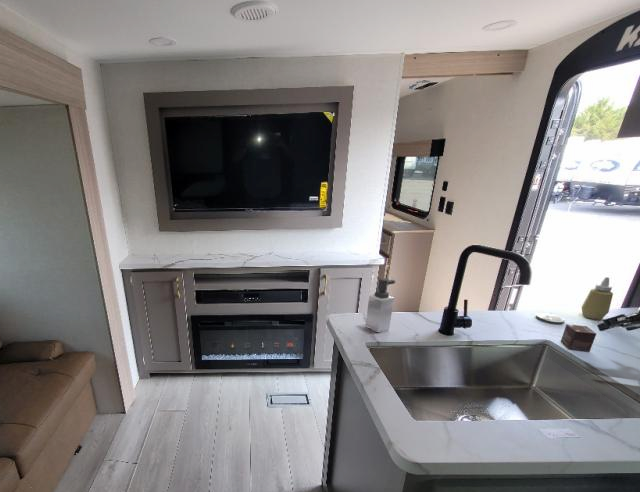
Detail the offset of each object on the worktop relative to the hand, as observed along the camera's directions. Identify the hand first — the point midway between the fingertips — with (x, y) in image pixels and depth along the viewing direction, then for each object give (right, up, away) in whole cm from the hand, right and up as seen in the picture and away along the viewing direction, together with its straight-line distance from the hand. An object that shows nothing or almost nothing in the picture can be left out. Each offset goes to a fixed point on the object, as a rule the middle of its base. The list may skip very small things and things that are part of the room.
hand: (612, 327), depth 106 cm
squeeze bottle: (+29, 0, +33) cm, 44 cm away
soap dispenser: (-64, -4, +30) cm, 71 cm away
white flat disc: (+10, -1, +32) cm, 34 cm away
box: (+1, -9, +13) cm, 16 cm away
